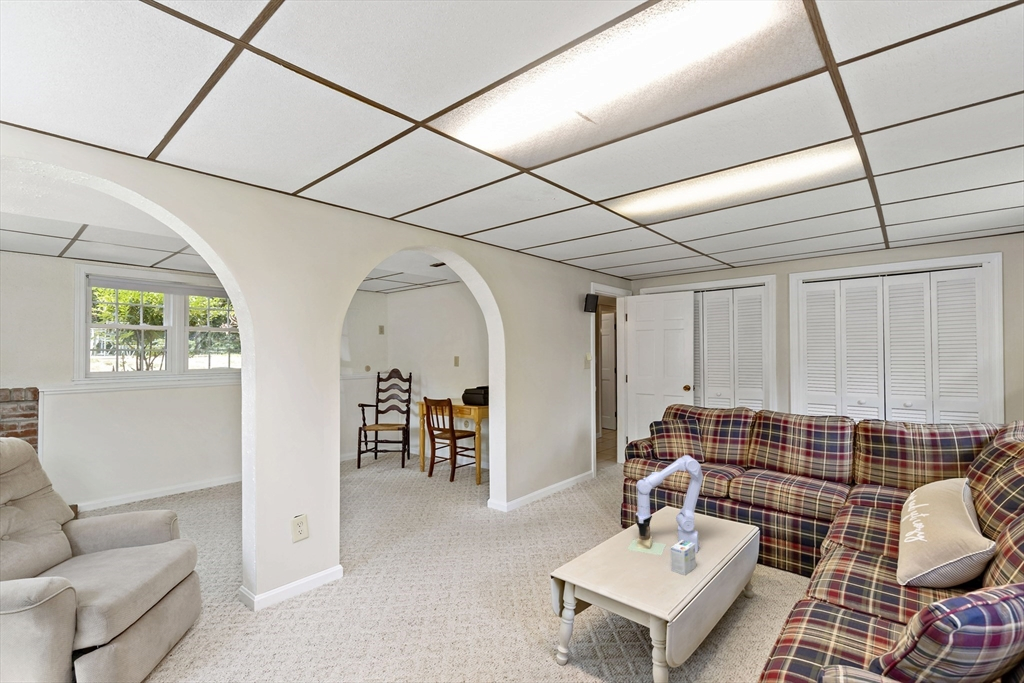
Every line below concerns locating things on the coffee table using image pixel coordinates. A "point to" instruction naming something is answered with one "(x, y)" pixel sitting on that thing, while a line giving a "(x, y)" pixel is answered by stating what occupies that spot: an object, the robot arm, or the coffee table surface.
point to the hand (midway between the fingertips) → (644, 533)
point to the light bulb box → (683, 557)
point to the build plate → (655, 549)
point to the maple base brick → (644, 543)
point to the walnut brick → (646, 534)
